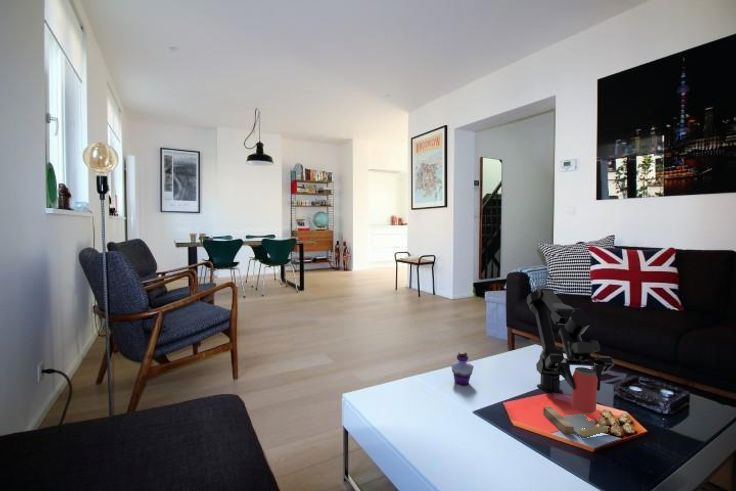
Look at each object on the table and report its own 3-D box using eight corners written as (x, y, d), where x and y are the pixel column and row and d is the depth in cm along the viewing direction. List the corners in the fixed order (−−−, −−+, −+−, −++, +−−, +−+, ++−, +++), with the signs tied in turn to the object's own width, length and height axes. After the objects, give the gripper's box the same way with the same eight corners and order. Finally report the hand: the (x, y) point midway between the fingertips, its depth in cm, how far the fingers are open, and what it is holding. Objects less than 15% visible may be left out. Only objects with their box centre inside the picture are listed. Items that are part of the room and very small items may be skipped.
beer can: (601, 413, 111) (603, 374, 110) (581, 415, 110) (583, 375, 109) (584, 402, 117) (586, 365, 117) (566, 404, 116) (568, 366, 116)
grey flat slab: (554, 419, 118) (554, 412, 118) (583, 415, 120) (583, 408, 120) (582, 439, 107) (582, 431, 107) (613, 434, 110) (613, 426, 110)
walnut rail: (543, 414, 121) (543, 406, 121) (550, 414, 121) (551, 406, 121) (565, 435, 109) (565, 426, 109) (573, 434, 109) (573, 426, 109)
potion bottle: (472, 379, 148) (473, 349, 147) (474, 388, 140) (475, 357, 139) (450, 377, 150) (450, 348, 149) (450, 386, 141) (451, 355, 140)
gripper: (550, 328, 117) (562, 377, 107) (612, 331, 115) (632, 381, 105) (540, 344, 125) (551, 391, 115) (598, 347, 123) (615, 395, 113)
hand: (586, 389), depth 112 cm, fingers closed on beer can, 7 cm apart
